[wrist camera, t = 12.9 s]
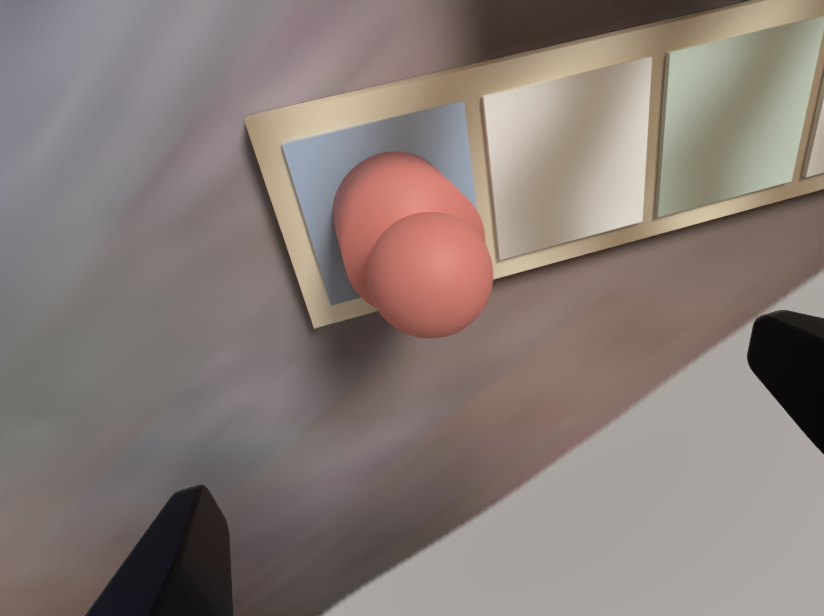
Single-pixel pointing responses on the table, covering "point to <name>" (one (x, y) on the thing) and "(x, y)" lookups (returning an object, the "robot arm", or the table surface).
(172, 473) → the table surface
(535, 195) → the board
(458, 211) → the pawn
